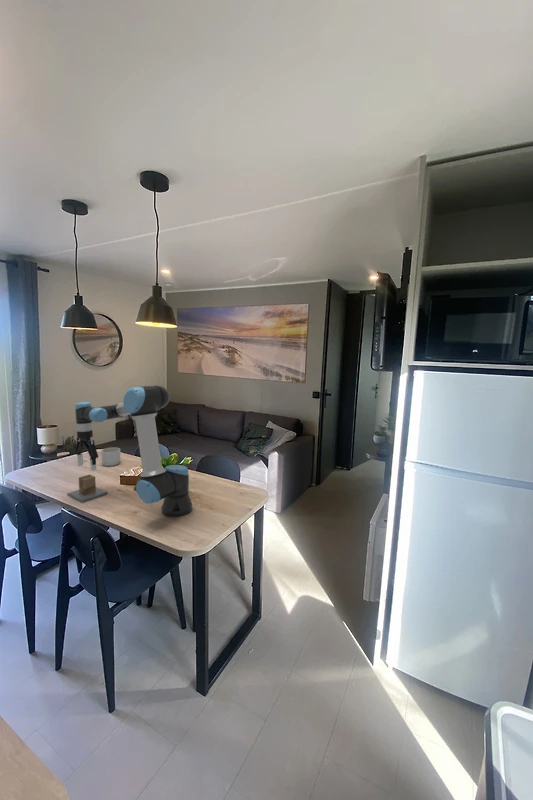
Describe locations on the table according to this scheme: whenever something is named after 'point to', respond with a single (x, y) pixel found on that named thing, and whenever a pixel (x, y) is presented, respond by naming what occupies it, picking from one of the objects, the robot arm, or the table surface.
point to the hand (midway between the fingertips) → (86, 468)
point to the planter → (110, 456)
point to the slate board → (83, 498)
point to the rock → (137, 482)
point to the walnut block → (87, 485)
